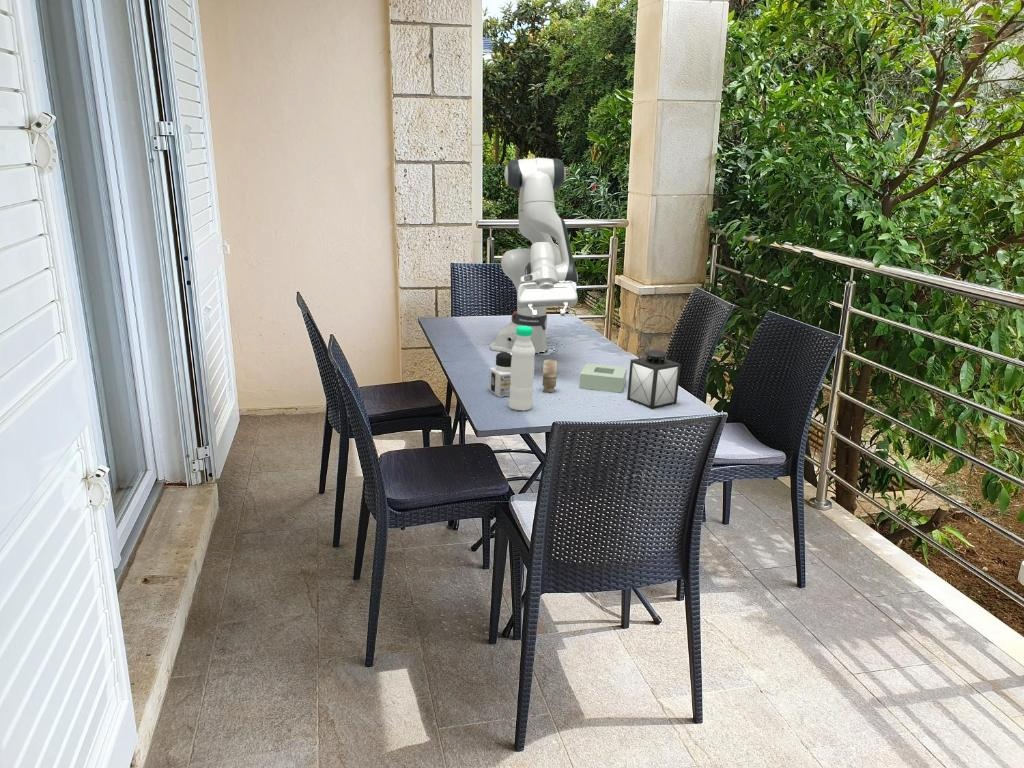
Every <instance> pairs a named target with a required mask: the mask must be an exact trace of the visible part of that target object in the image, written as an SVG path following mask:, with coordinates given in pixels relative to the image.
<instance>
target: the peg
mask: <svg viewBox="0 0 1024 768" xmlns="http://www.w3.org/2000/svg"><path fill="white" fill-rule="evenodd" d="M542 366H543V367H542V368H543V370H542V382H541V385H542V386H543V392H544V391H545V392H544V393H546V392H553V393H554V392H555V387H556V385H557V376H558V373H557V372H558V361H557V360H555V359H545V360H543V365H542Z"/></svg>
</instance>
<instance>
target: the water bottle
mask: <svg viewBox="0 0 1024 768" xmlns="http://www.w3.org/2000/svg"><path fill="white" fill-rule="evenodd" d="M532 332H533V330H532V328H531V327H528V326H519V327H517V330H516V334H517V337H518V339H517V340H516V342H515V345H514V346H513V348H512V351H511V353H512V359H511V375H510V380H511V385H510V396H509V400H508V406H509V409H511V410H513V409H515V410H514V411H516V410H527V411H529V410H528V409H530V410H532V408H533V395H534V386H533V385H534V379H535V355H536V354H535V349H534V346H533V343H532V341H531V336H532Z"/></svg>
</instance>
